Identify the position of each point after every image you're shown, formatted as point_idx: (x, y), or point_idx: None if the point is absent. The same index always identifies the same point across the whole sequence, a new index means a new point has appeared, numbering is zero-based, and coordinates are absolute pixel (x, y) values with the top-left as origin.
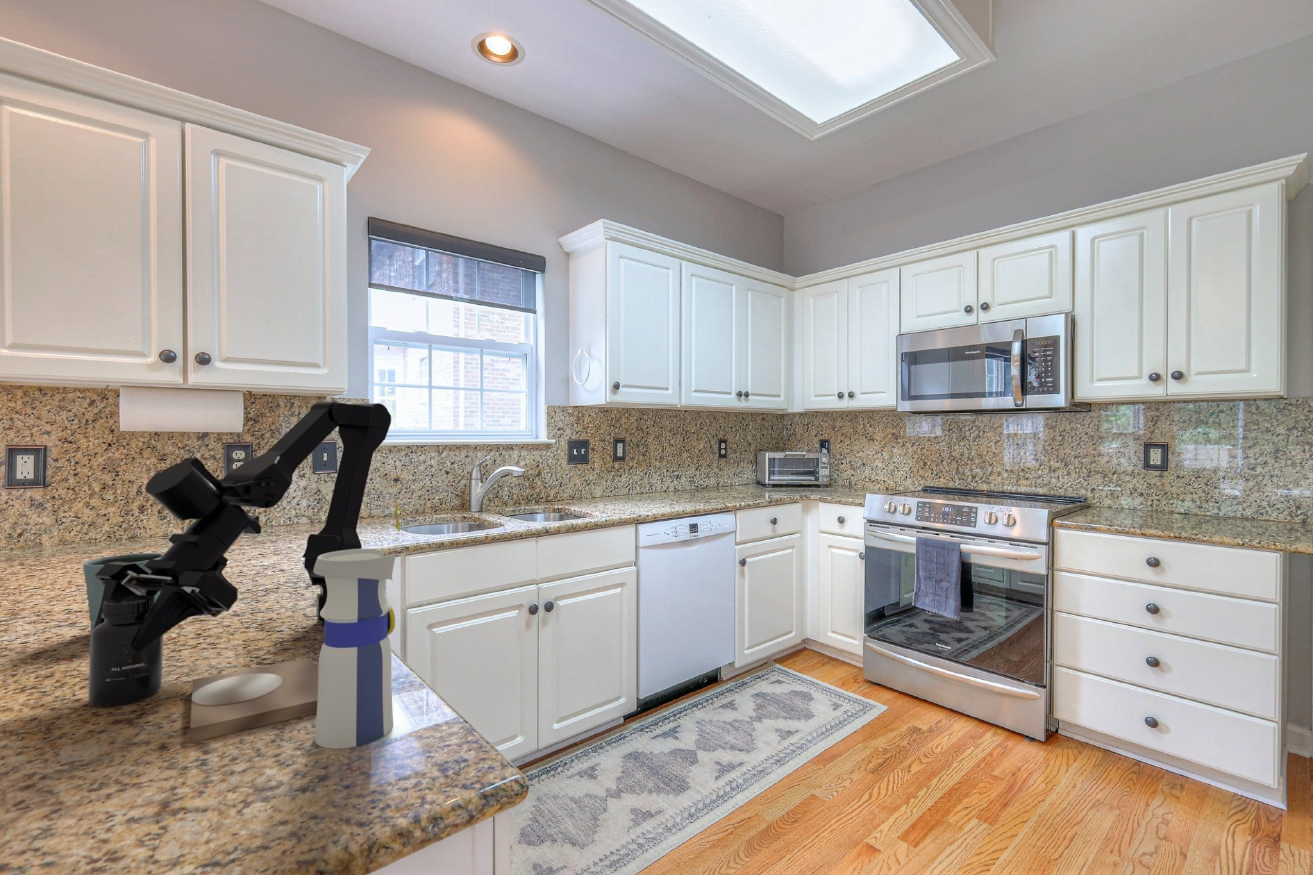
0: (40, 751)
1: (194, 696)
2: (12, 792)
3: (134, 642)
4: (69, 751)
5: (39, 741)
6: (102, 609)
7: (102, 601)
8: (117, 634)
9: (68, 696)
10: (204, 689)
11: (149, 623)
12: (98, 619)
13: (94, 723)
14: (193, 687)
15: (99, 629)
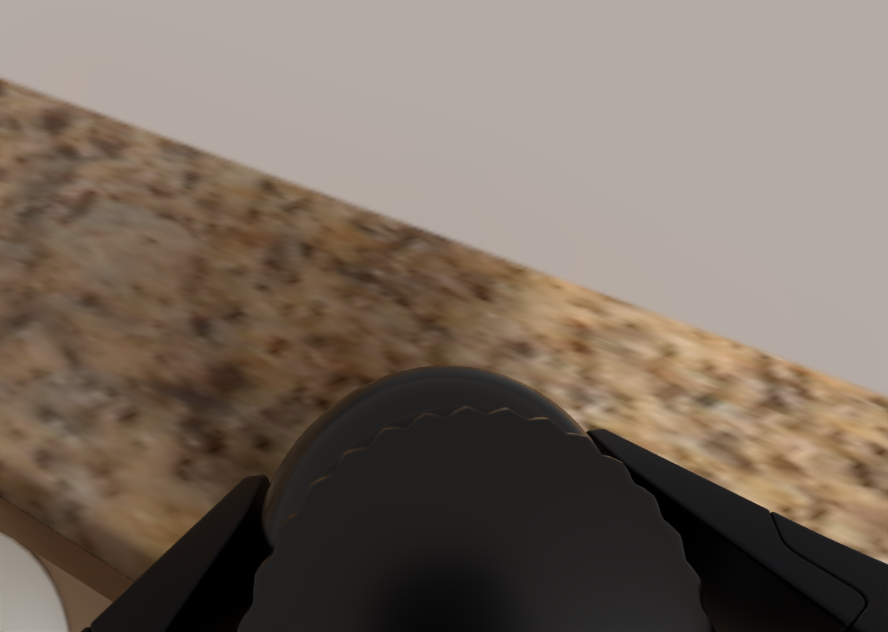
0: (230, 208)
1: (4, 550)
2: (62, 101)
3: (244, 486)
4: (154, 233)
5: (299, 233)
6: (761, 528)
7: (867, 563)
8: (312, 427)
9: (596, 413)
10: (27, 615)
11: (133, 590)
12: (689, 483)
13: (284, 344)
14: None
15: (448, 384)
